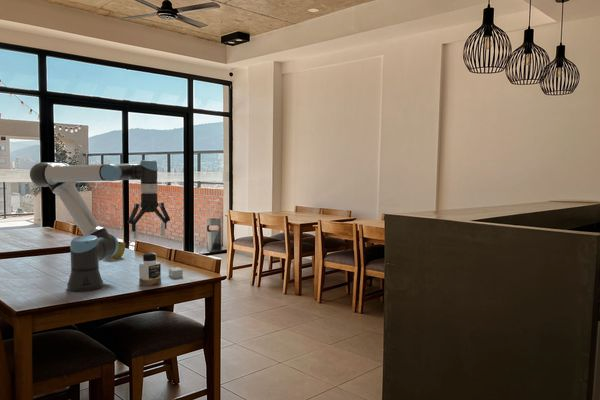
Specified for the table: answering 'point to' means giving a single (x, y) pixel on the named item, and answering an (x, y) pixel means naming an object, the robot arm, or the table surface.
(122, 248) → the flower pot
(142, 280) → the pedestal
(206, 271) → the table surface
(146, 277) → the medicine bottle
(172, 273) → the grey junction box
